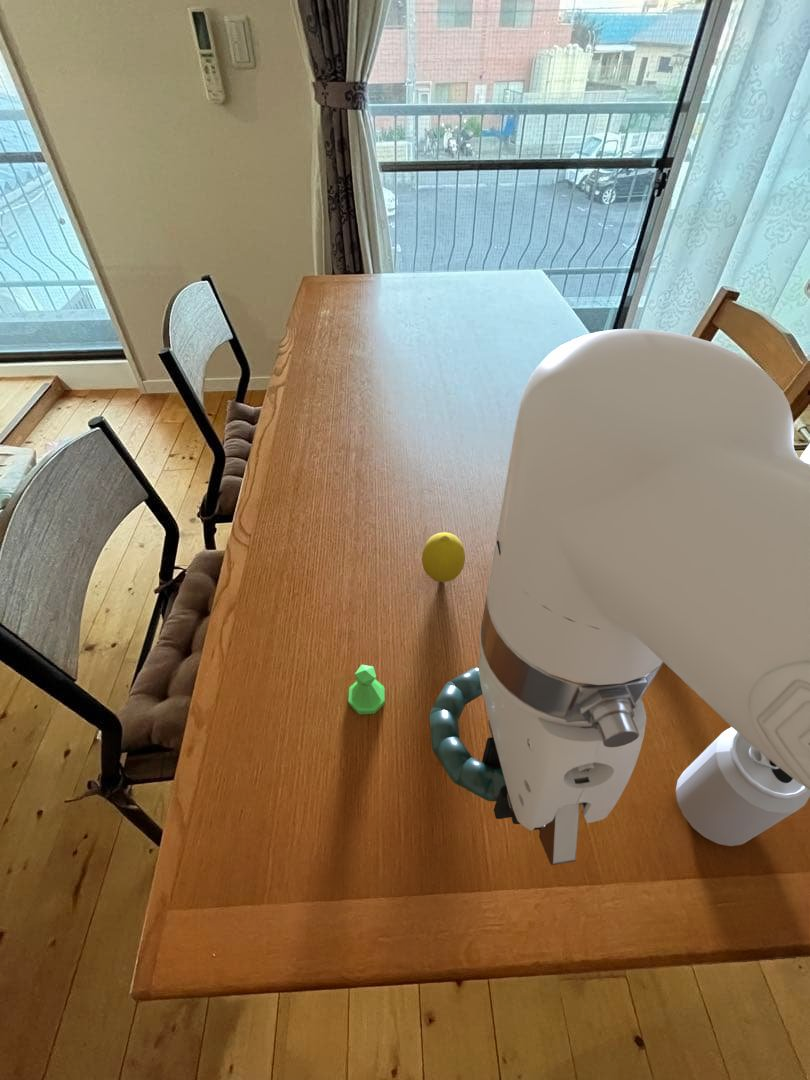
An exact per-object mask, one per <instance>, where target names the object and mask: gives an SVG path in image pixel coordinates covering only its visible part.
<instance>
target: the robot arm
mask: <svg viewBox="0 0 810 1080" xmlns="http://www.w3.org/2000/svg"><path fill="white" fill-rule="evenodd" d="M519 401H520V402H519V405H518V409H517V414H516V418H515V423H514V430H513V435H512V437H513V438H512V441H511V449H510V454H509V459H508V465H507V472H506V477H505V482H504V483H505V484H504V488H503V495H502V499H501V500H502V502H501V505H500V513H499V519H498V524H497V529H496V530H497V531H496V537H495V542H494V548H493V554H492V561H491V567H490V573H489V579H488V583H487V592H486V597H485V603H484V608H483V614H482V619H481V624H480V630H479V641H478V642H479V655H478V667H479V678H480V684H481V689H482V693H483V695H482V698H483V702H484V705H485V709H486V714H487V718H488V719H487V720H488V722H487V723H488V729H489V733H490V736H491V737H487V738H486V743H485V746H484V751H483V755H482V759H481V762H483V763H485V764H487V765H489V766H491V767H493V768H502V771H503V775H504V779H505V783H506V786H503V787H501V789H500V792H499V795H498V798H497V801H495V804H494V807H493V813H494V817H495V819H497V820H502V819H508V818H511V822H512V824H514V825H521V826H522V827H524V828H525V829H526V830H527V831H530V832H531V831H537V830H538V831H539V832H538V837H539V840H540V843H541V845H542V847H543V850H544V852H545V854H546V857H547V859H548V862H549V864H550V865H551V866H556V865H562V864H569V863H575V862H576V859H577V847H578V833H579V820H580V819H579V817H580V807H581V806H582V811H581V813H582V816H583V818H584V820H585V822H586V823H587V824H593V823H595V822H599V821H603V820H605V819H606V818H607V817H608V816H609V814H611V812H612V811H613V809H614V807H616V805H617V803H618V802H619V800H620V798H621V796H622V795H623V792H624V791H625V789H626V788H627V785H628V783H629V781H630V779H631V777H632V774H633V773H634V770H635V768H636V765H637V761H638V759H639V756H640V753H641V749H642V745H643V741H644V737H645V732H646V725H647V713H646V709H645V706H644V702H643V699H642V698H643V696H644V694H645V693H646V692H647V690H648V689H649V687H650V685H651V684H652V682H653V681H654V679H655V677H656V676H657V674H658V673H659V671H660V670H661V669H662V666H663V665H666V666H667V667H668V668H669V669H670V670H671V671H672V672H673V673H674V674H675V675H676V676H677V677H678V678H679V679H681V680H682V681H683V682H684V683H685V684H686V685H687V686H688V687H689V688H690V689H691V690H692V691H693V692H695V693H696V695H698V697H699V698H701V700H702V701H704V702H705V703H706V704H707V705H708V706H709V707H710V708H711V709H712V710H713V711H714V712H715V713H716V714H717V715H718V716H720V718H722V719H723V721H725V722H726V723H727V724H728V725H729V726H730V728H731V727H732V728H734V729H735V730H736V731H737V732H738V733H739V734H740V735H741V736H742V737H744V738H745V739H746V740H747V741H748V742H749V743H750V744H751V745H752V746H754V747H755V748H756V749H757V750H758V751H760V752H761V753H762V754H763V755H765V756H766V757H767V758H768V759H769V760H771V761H772V762H773V763H774V764H776V765H777V766H778V767H779V768H781V769H782V770H783V771H784V772H785V773H787V774H788V775H789V776H790V777H792V778H793V779H795V780H796V781H798V782H799V783H800V784H802V785H803V786H805V787H806V788H807V789H808V790H810V443H808V445H807V446H806V448H805V449H804V451H803V452H802V453H801V455H800V456H799V455H798V453H797V452H796V450H795V444H794V443H795V442H794V441H795V439H794V438H795V424H794V418H793V412H792V409H791V404H790V402H789V400H788V399H787V396H786V395H785V393H784V391H783V390H782V388H780V387H779V385H778V384H777V383H776V381H774V380H773V379H772V377H771V376H770V375H769V374H768V373H767V372H766V371H765V370H764V369H762V368H761V367H760V366H759V365H757V364H756V363H755V362H753V361H751V360H750V359H749V358H747V357H745V356H743V355H742V354H740V353H737V352H736V351H733V350H732V349H729V348H727V347H725V346H722V345H720V344H717V343H715V342H712V341H709V340H707V339H703V338H699V337H695V336H691V335H688V334H684V333H683V334H682V333H678V332H673V331H667V330H660V329H647V328H646V329H645V328H644V329H643V328H617V329H608V330H601V331H596V332H591V333H588V334H585V335H582V336H579V337H577V338H575V339H572V340H571V341H568V342H565V343H564V344H562V345H560V346H558V347H556V349H554V350H552V351H551V352H550V353H549V354H548V355H547V356H545V358H543V360H542V361H541V362H540V363H539V364H538V365H537V366H536V367H535V369H534V370H533V372H532V373H531V375H530V376H529V378H528V381H527V382H526V385H525V387H524V389H523V390H522V393H521V397H520V400H519ZM580 805H581V806H580Z"/></svg>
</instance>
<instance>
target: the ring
mask: <svg viewBox="0 0 810 1080" xmlns="http://www.w3.org/2000/svg"><path fill="white" fill-rule="evenodd" d="M481 696H483V693H482V689H481V684H480V678H479V666H477V667H472V668H470V669H469V670H466V671H465V672H463V673H461V674H460V675H457V676H456V677H454V678H452V679H451V680H449V681H447V682H446V683H445V685H444V686H443V687H442V689H441V691H440V692H439V695H438V696H437V699H436V700H435V702H434V704H433V705H432V708H431V709H430V712H429V726H430V727H429V728H430V743H431V744H430V745H431V750H432V752H433V754H434V756H435V757H436V758H437V760H438V761H439V763H440V765H441V766H442V768H443V769H444V771H445V773H447V776H448V777H449V778H450V780H451V781H452V782H453V783H454V784H456V785H457V786H459V787H461V788H463V789H464V790H467V791H469V792H470V793H472V794H474V795H475V796H477V797H480V798H481V799H483V800H485V801H487V802H496V801H497V798H498V795H499V792H500V789H501V787H503V786H506V783H505V779H504V775H503V771H502V768H493V767H491V766H489V765H487V764H485V763H483V762H482V760H479V759H477V758H475V757H473V756H472V754H471V753H470V751H469V750H468V748H467V747H466V746H465V744H464V743H463V741H462V740H461V737H460V726H459V719H460V717H461V715H462V713H463V711H464V709H465V707H466V706H467V704H469V703H470V702H472V701H474V700H475V699H478V698H479V697H481Z"/></svg>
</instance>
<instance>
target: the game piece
mask: <svg viewBox="0 0 810 1080" xmlns="http://www.w3.org/2000/svg"><path fill="white" fill-rule="evenodd" d="M354 677H355V680H356V681H355V682H354V683H352V684H351V685H350V686H349V687H348V705H349V706H350V707H351V708H352V709H353V710H354V711H355V712H356V713H357V714H358V715H374V714H376V713H377V712H378V711H379V710H380V709H381V708H382V707H383V706H384V705H385V702H386V699H385V698H386V696H385V694H386V692H385V691H386V688H385V686H384V685H383V684H382V683H380V681H379V680H378V679H376V678H377V674H376V670H375V666H372V665H366V664H361V665H360V666H359V668H358V669H357V670H356V672H355V673H354Z"/></svg>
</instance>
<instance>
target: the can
mask: <svg viewBox="0 0 810 1080" xmlns="http://www.w3.org/2000/svg"><path fill="white" fill-rule="evenodd" d="M714 739H715V740H713V741H712V742H711V743H710V744H709V745H708V746H707V747H706V748H705V749H704V750H703V751H702V752H701V753H700V754H699V756H697V757H696V758H695V759H694V760H693V761H692V762H690V765H688V766H687V767H686V768H685V769H684V770H683V771H682V773H681V774H680V776H679V778H678V779H677V780H676V781H677V782H676V787H675V794H676V795H675V796H676V801H677V805H678V807H679V810H680V812H681V813H682V816H683V817H684V819H685V821H687V822H688V824H689V825H690V826H691V827H692V829H694V830H695V831H696V832H697V833H699V834H700V835H701V836H702V837H704V838H705V839H706V840H708V841H711V842H713V843H715V844H717V845H722V846H728V847H734V846H741V845H744V844H745V843H747V842H749V841H750V840H753V838H755V837H757V836H759V835H760V834H762V833H763V832H765V831H767V830H768V829H770V828H772V827H773V826H775V825H776V824H778V823H780V822H781V821H783V820H784V819H786V818H788V817H789V816H791V815H793V814H794V813H796V812H798V811H799V810H800V809H802V808H803V807H804V806H806V805H807V802H808V801H809V799H810V790H808V789H807V788H806V787H805V786H803V785H802V784H800V783H799V782H798V781H796V780H795V779H793V778H792V777H790V776H789V775H788V774H787V773H785V772H784V771H783V770H782V769H781V768H779V767H778V766H777V765H776V764H774V763H773V762H772V761H771V760H769V759H768V758H767V757H766V756H765V755H763V754H762V753H761V752H760V751H758V750H757V749H756V748H755V747H754V746H752V745H751V744H750V743H749V742H748V741H747V740H746V739H745V738H744V737H742V736H741V735H740V734H739V733H738V732H737V731H736V730H735V729H734V728H732V727H731V726H730V727H729V728H727V729H726V730H724V731H722V732H721V733H720V734H719V735H718V736H717V738H714Z"/></svg>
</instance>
